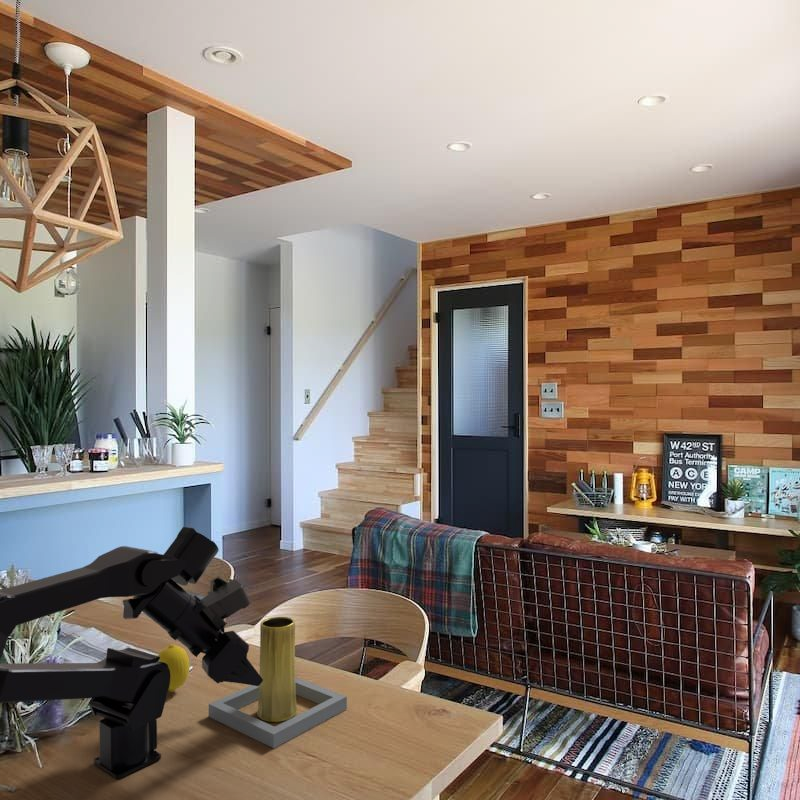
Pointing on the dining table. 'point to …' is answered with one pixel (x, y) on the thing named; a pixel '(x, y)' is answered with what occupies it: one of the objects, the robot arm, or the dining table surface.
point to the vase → (277, 670)
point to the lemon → (175, 665)
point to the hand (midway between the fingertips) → (251, 671)
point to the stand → (287, 730)
